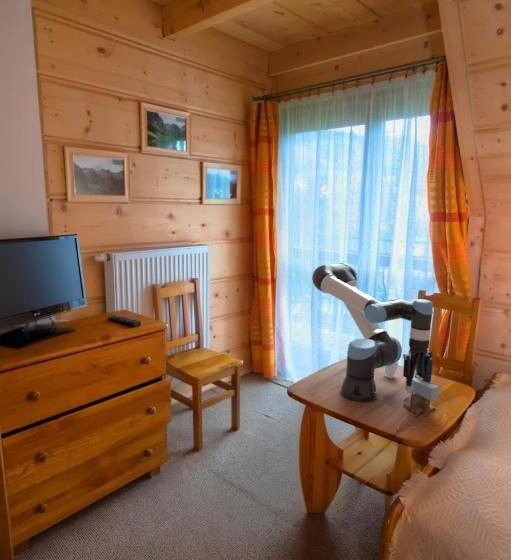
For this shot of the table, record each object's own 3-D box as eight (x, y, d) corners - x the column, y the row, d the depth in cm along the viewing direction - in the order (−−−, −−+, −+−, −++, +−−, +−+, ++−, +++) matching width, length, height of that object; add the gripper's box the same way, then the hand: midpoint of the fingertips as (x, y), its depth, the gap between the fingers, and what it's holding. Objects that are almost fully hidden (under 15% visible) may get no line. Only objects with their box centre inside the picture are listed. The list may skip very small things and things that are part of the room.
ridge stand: (416, 414, 169) (417, 400, 168) (403, 406, 175) (405, 392, 174) (435, 409, 173) (437, 396, 172) (422, 402, 179) (423, 388, 178)
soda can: (428, 379, 202) (430, 355, 200) (432, 385, 195) (435, 360, 193) (412, 378, 203) (415, 354, 200) (416, 384, 196) (419, 359, 193)
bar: (431, 400, 166) (431, 388, 165) (405, 389, 178) (405, 377, 178) (438, 399, 167) (438, 386, 166) (412, 387, 180) (412, 376, 179)
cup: (387, 379, 200) (388, 363, 199) (376, 371, 210) (377, 355, 208) (400, 378, 202) (402, 362, 200) (388, 370, 211) (390, 354, 210)
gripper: (428, 333, 179) (422, 385, 183) (396, 337, 172) (391, 391, 177) (442, 338, 172) (436, 393, 176) (410, 343, 165) (404, 399, 170)
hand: (413, 392), depth 176 cm, fingers closed on bar, 3 cm apart
